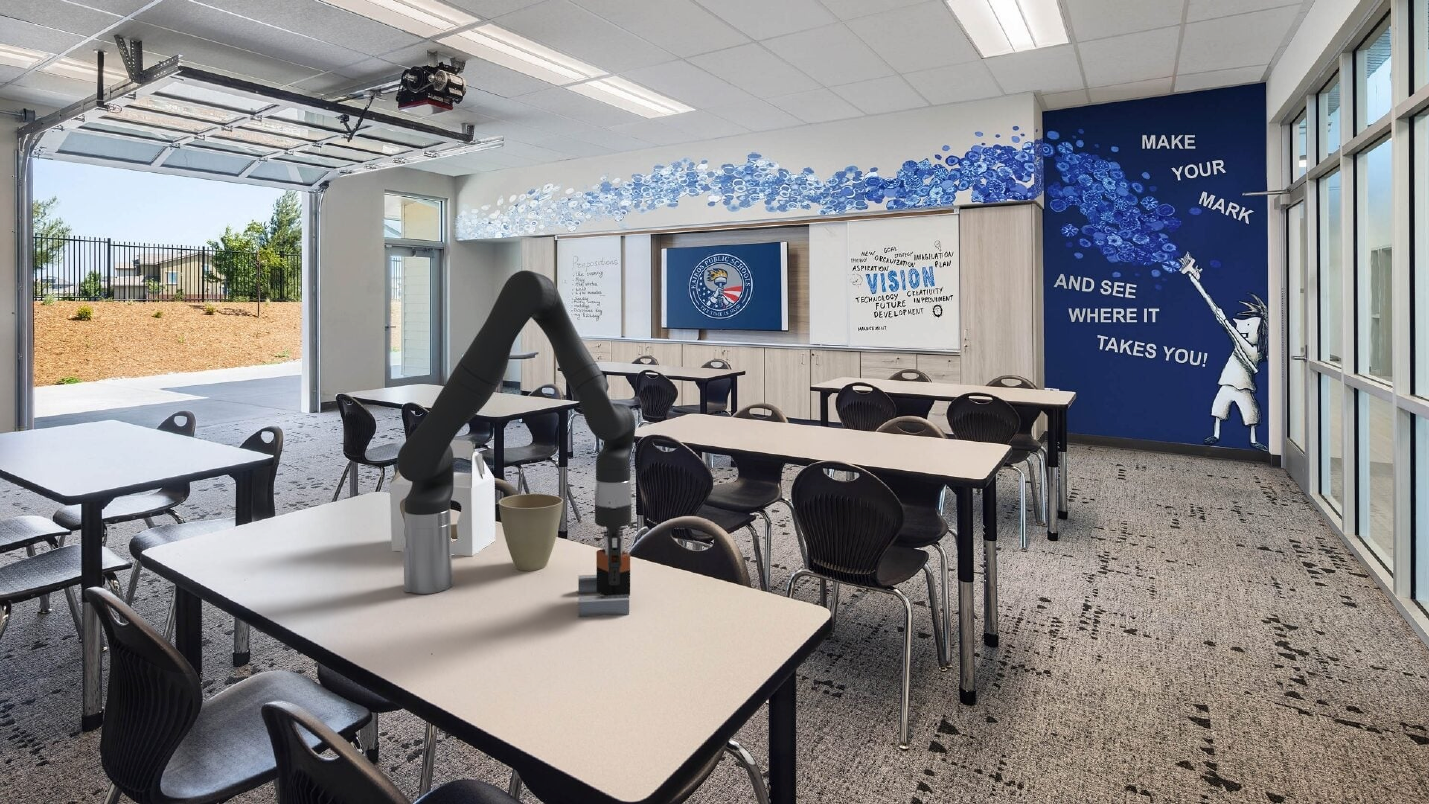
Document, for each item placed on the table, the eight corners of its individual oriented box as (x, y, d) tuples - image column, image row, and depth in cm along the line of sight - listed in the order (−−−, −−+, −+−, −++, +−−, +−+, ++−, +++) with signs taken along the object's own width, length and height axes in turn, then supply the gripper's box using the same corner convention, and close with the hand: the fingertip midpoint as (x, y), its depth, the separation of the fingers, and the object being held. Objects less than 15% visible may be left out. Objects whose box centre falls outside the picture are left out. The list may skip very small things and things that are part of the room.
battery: (613, 601, 154) (613, 553, 153) (595, 592, 159) (595, 546, 158) (631, 596, 156) (631, 549, 155) (612, 587, 161) (612, 542, 160)
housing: (578, 616, 149) (578, 600, 149) (578, 590, 164) (578, 575, 164) (629, 614, 151) (629, 597, 151) (624, 588, 166) (624, 573, 165)
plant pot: (511, 580, 170) (510, 511, 168) (491, 562, 182) (490, 497, 181) (573, 569, 178) (573, 503, 176) (550, 553, 190) (549, 491, 189)
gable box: (496, 541, 199) (495, 437, 197) (473, 556, 186) (471, 445, 184) (418, 537, 203) (415, 434, 200) (390, 551, 190) (387, 441, 187)
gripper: (594, 494, 162) (594, 567, 163) (595, 510, 148) (595, 590, 149) (629, 493, 163) (629, 566, 165) (633, 508, 149) (633, 588, 151)
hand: (613, 577), depth 157 cm, fingers closed on battery, 8 cm apart
